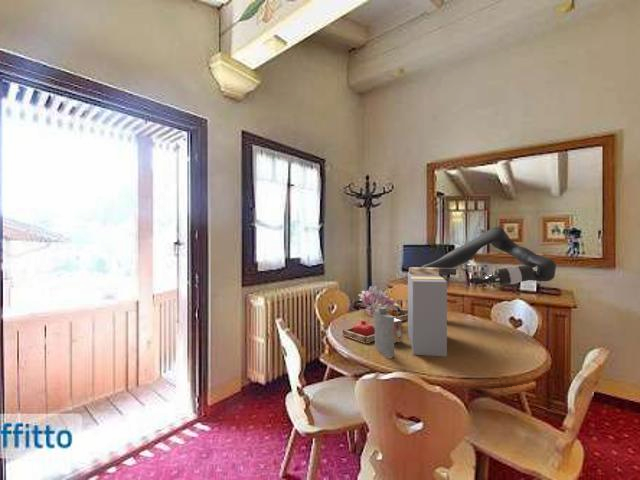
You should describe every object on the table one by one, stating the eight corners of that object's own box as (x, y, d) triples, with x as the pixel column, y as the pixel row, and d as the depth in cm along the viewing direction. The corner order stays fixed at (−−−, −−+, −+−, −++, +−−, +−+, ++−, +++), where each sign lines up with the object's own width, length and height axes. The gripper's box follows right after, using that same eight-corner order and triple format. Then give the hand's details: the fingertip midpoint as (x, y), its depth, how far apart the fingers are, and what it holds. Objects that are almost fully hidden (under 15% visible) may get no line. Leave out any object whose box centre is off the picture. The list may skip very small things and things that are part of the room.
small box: (389, 344, 159) (389, 322, 159) (381, 341, 164) (381, 319, 164) (402, 341, 163) (402, 320, 163) (394, 338, 168) (394, 317, 168)
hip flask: (395, 358, 143) (395, 311, 142) (386, 359, 142) (386, 311, 141) (380, 345, 158) (379, 303, 158) (372, 346, 157) (371, 303, 157)
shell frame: (363, 314, 215) (363, 309, 215) (383, 309, 228) (383, 305, 228) (397, 323, 195) (397, 317, 195) (417, 316, 208) (417, 312, 208)
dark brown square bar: (455, 274, 166) (455, 267, 165) (456, 274, 163) (456, 268, 162) (408, 273, 170) (408, 267, 170) (409, 274, 167) (409, 268, 167)
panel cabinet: (435, 333, 175) (435, 271, 174) (446, 356, 144) (447, 281, 143) (407, 332, 178) (407, 271, 177) (413, 354, 147) (412, 280, 146)
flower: (412, 326, 183) (400, 282, 193) (382, 329, 170) (371, 282, 180) (387, 334, 198) (376, 293, 207) (358, 337, 185) (348, 293, 195)
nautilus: (407, 321, 202) (382, 323, 201) (396, 310, 223) (374, 311, 222) (406, 308, 201) (382, 310, 200) (396, 298, 222) (374, 300, 221)
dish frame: (341, 335, 173) (341, 329, 173) (363, 329, 184) (363, 323, 184) (366, 344, 160) (366, 338, 160) (388, 336, 171) (388, 331, 170)
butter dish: (347, 336, 172) (347, 320, 172) (361, 331, 180) (361, 316, 180) (365, 342, 164) (365, 324, 164) (379, 336, 172) (379, 320, 172)
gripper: (500, 267, 164) (466, 273, 167) (512, 268, 150) (474, 274, 153) (504, 282, 163) (469, 288, 166) (516, 285, 149) (477, 291, 152)
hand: (471, 281), depth 159 cm, fingers open, 8 cm apart
